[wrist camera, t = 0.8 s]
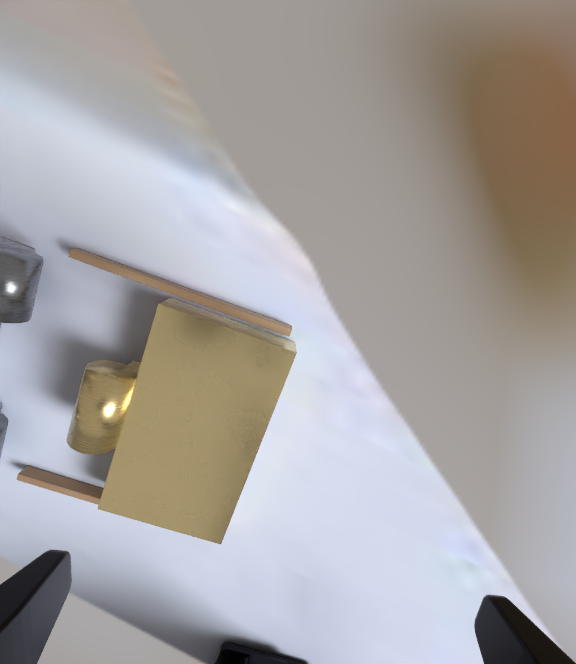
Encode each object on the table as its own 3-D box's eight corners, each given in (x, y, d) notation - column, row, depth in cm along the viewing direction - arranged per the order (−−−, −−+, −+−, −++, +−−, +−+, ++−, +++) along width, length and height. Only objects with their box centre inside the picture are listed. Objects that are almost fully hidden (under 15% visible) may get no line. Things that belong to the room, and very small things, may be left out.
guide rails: (213, 528, 23) (210, 538, 22) (26, 471, 22) (16, 479, 21) (291, 326, 20) (291, 329, 19) (79, 248, 19) (70, 248, 18)
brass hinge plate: (225, 518, 23) (217, 562, 20) (73, 473, 22) (39, 512, 19) (294, 341, 20) (297, 360, 17) (125, 281, 19) (95, 289, 16)
